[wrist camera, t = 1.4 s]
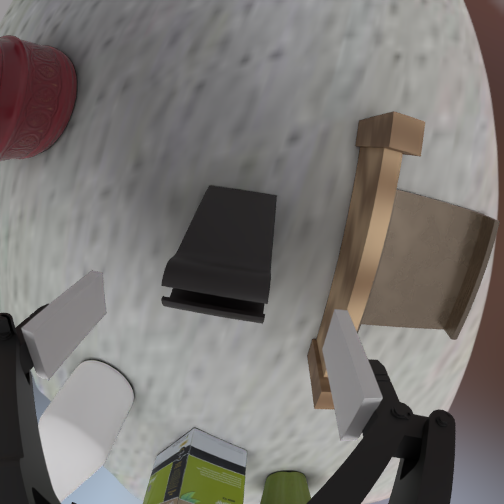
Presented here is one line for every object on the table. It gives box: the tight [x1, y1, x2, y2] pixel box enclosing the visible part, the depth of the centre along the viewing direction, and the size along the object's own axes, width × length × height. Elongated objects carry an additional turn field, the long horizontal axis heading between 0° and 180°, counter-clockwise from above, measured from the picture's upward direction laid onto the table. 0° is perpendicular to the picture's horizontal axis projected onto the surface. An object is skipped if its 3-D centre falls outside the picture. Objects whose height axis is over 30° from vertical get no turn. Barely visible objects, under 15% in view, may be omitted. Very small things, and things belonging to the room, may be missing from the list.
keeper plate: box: [357, 189, 499, 340], centre depth 26 cm, size 14×14×3 cm
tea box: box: [143, 428, 247, 504], centre depth 34 cm, size 15×10×15 cm
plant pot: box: [260, 472, 311, 504], centre depth 37 cm, size 12×12×11 cm
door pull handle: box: [307, 112, 425, 409], centre depth 24 cm, size 25×2×8 cm, turn 173°
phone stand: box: [161, 186, 277, 323], centre depth 22 cm, size 9×6×12 cm, turn 171°
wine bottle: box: [38, 360, 134, 503], centre depth 22 cm, size 10×10×30 cm
